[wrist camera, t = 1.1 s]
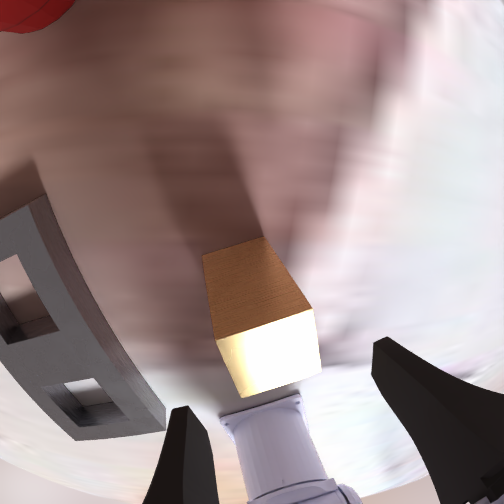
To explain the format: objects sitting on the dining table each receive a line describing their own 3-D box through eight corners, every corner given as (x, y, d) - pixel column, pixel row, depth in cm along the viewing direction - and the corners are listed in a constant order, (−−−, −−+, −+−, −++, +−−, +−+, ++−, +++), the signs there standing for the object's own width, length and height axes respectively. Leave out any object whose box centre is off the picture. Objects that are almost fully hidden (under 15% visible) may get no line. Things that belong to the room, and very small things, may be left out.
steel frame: (165, 408, 23) (166, 430, 21) (79, 421, 23) (75, 440, 20) (45, 193, 15) (27, 204, 12) (-43, 245, 14) (-60, 259, 12)
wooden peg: (276, 288, 21) (321, 371, 13) (220, 306, 20) (241, 398, 13) (263, 236, 19) (312, 308, 12) (201, 255, 18) (215, 340, 11)
